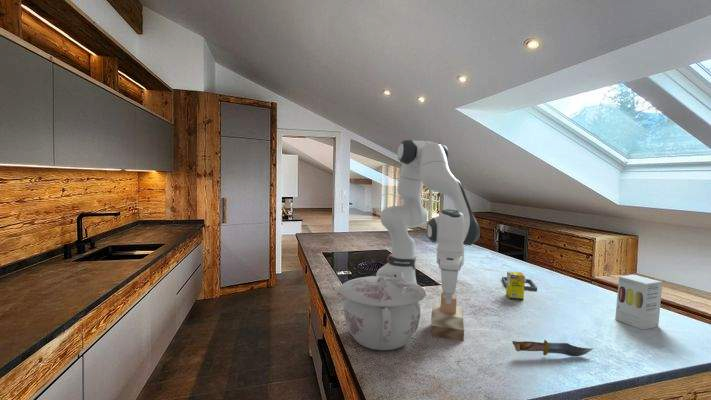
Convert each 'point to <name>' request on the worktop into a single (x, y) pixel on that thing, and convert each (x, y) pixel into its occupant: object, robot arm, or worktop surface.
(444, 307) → the terracotta block
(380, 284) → the chamber pot
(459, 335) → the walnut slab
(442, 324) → the birch slab
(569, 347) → the knife
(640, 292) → the supplement box
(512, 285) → the supplement box
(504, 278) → the grey square frame
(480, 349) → the worktop surface
